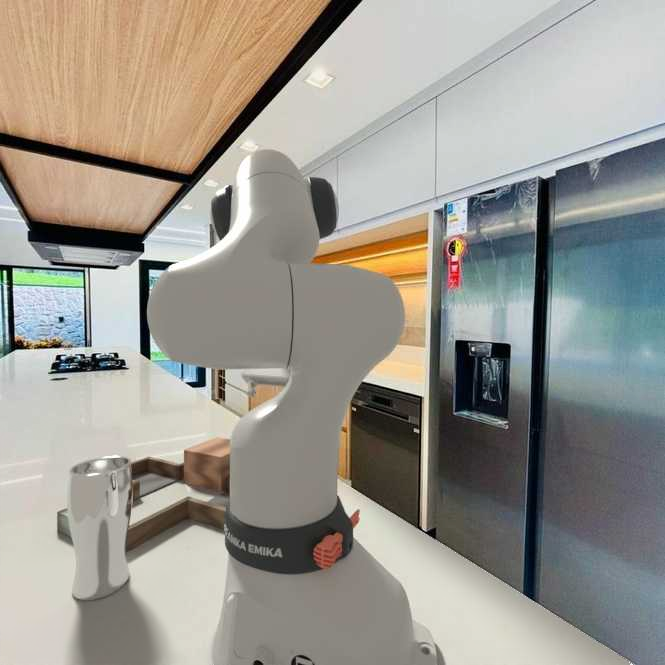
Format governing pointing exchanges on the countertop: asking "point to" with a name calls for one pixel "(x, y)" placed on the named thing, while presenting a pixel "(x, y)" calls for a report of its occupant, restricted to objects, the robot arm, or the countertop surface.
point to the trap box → (155, 476)
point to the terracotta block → (208, 464)
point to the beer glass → (100, 524)
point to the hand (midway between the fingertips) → (264, 397)
